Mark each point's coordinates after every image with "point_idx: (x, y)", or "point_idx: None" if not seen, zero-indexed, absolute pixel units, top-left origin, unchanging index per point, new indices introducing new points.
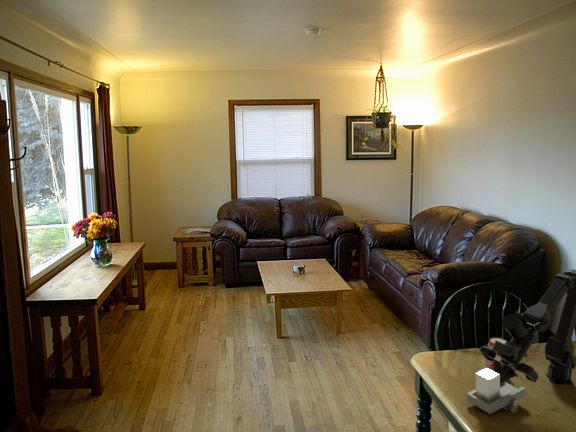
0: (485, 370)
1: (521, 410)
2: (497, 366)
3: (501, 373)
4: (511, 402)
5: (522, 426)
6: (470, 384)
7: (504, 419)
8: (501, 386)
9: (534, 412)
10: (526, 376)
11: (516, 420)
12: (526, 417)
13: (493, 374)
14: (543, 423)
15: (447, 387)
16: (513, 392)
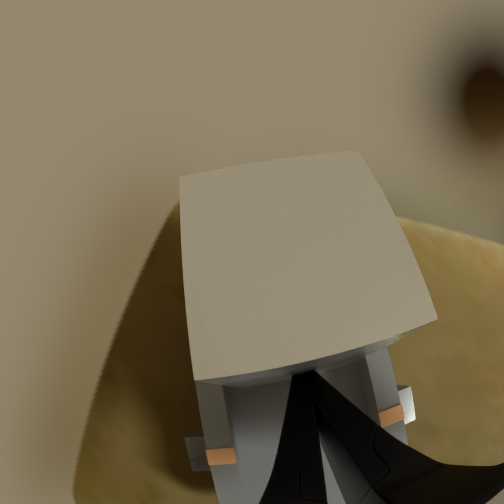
0: (386, 265)
1: (205, 471)
2: (412, 487)
3: (298, 478)
4: (200, 433)
5: (107, 373)
6: (465, 377)
7: (170, 345)
8: None
9: (174, 501)
10: None
11: (146, 388)
12: (151, 445)
13: (245, 296)
14: (101, 460)
15: (460, 266)
16: (231, 487)
